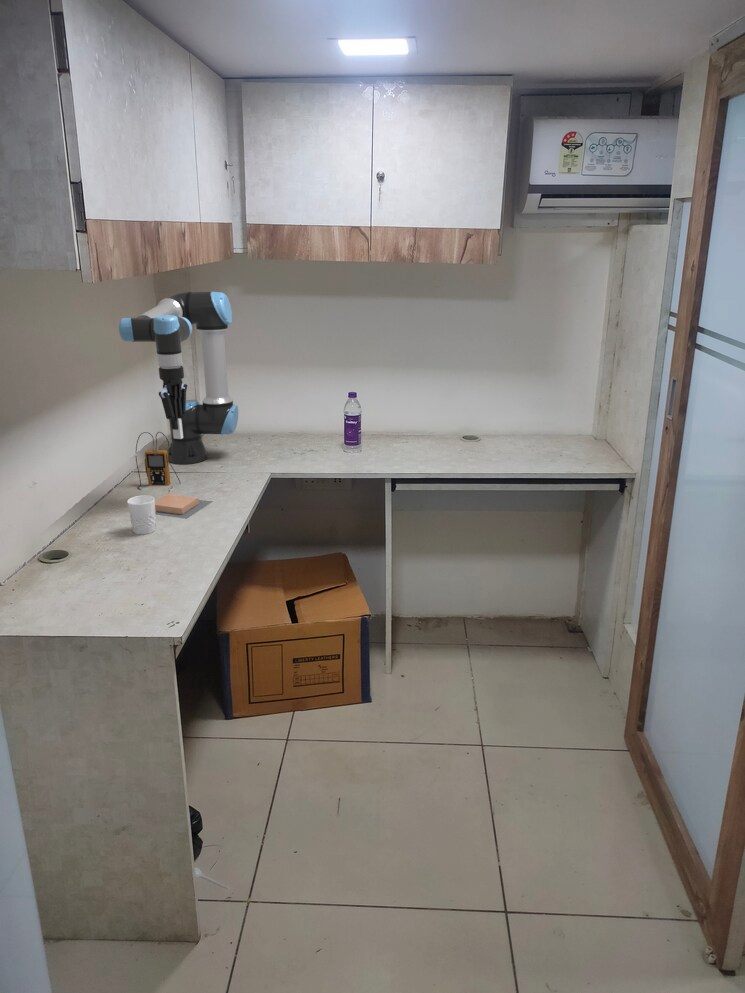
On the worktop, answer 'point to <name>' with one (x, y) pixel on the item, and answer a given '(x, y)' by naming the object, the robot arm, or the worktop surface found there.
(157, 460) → the multimeter
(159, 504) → the tile
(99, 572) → the worktop surface
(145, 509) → the white cup
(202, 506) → the mat
